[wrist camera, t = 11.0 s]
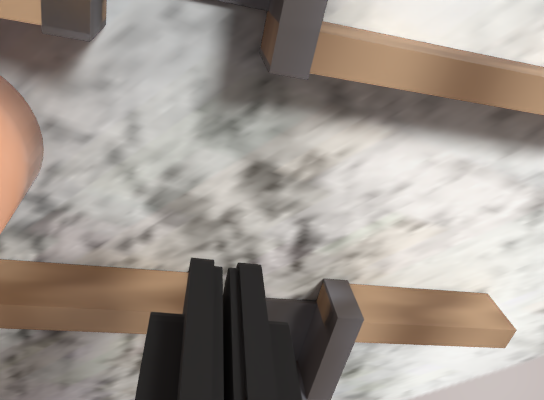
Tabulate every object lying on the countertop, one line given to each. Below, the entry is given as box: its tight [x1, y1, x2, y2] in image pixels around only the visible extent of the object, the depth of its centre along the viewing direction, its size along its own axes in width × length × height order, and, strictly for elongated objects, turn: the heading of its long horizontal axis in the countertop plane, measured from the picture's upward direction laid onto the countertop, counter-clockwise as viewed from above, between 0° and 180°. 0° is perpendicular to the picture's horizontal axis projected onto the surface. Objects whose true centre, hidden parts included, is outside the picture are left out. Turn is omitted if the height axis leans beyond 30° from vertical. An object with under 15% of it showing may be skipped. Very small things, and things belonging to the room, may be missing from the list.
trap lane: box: [0, 0, 544, 400], centre depth 15 cm, size 28×23×6 cm
